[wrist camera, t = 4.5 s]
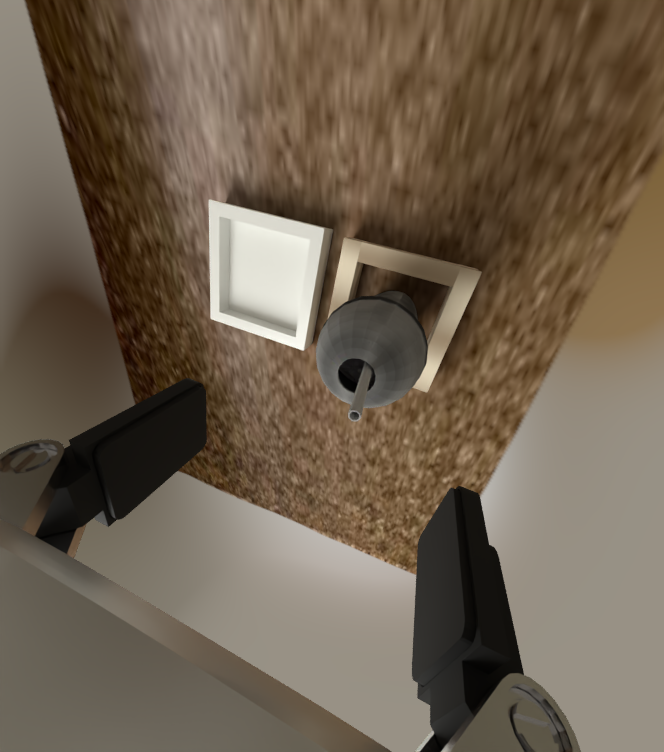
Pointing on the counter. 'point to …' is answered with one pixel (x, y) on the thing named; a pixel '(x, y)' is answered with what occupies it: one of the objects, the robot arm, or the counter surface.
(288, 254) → the white tray
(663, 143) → the counter surface
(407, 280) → the counter surface
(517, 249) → the counter surface
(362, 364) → the beverage cup
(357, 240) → the wood holder
